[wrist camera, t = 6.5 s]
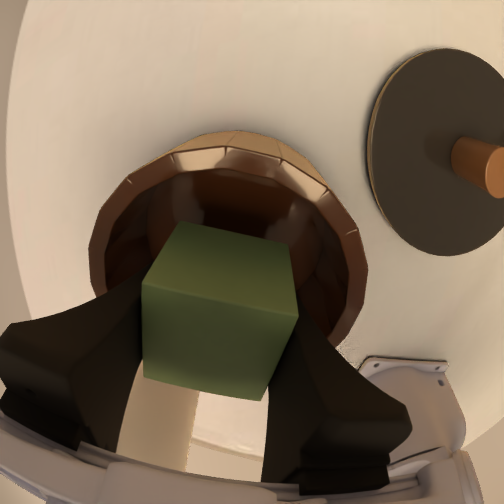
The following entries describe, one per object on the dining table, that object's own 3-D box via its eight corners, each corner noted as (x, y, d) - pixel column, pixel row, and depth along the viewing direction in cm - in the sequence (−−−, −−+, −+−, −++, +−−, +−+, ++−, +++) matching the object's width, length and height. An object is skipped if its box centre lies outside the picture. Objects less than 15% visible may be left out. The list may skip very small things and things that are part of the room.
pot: (363, 163, 15) (412, 198, 10) (300, 328, 20) (309, 398, 15) (148, 114, 14) (91, 125, 9) (134, 293, 19) (100, 355, 14)
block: (288, 243, 12) (299, 315, 8) (261, 325, 14) (260, 402, 10) (179, 219, 12) (141, 282, 8) (170, 305, 14) (142, 377, 10)
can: (139, 377, 24) (101, 496, 13) (116, 323, 21) (52, 459, 10) (210, 383, 23) (190, 516, 13) (197, 327, 20) (159, 491, 10)
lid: (533, 110, 12) (576, 122, 8) (480, 264, 17) (512, 299, 13) (391, 13, 11) (430, -8, 7) (333, 220, 16) (354, 259, 13)
